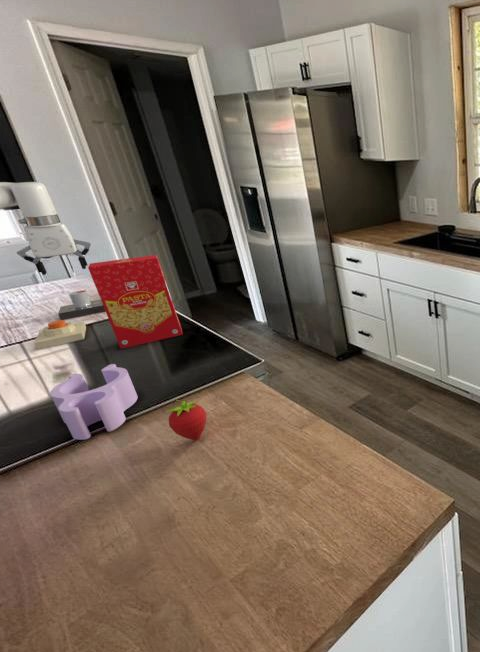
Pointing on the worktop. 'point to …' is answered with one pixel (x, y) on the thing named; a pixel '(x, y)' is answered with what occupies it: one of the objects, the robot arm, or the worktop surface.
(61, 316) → the hob panel
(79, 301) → the hob dial
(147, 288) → the food packaging
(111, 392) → the clip
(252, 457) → the worktop surface
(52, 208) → the robot arm
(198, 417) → the strawberry
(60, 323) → the kettle button
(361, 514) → the worktop surface
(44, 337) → the cream flat block
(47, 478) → the worktop surface
